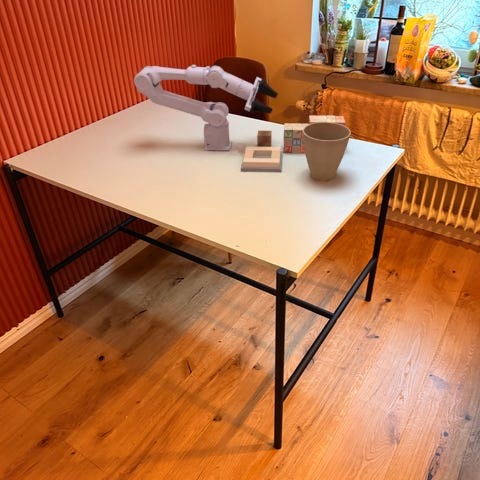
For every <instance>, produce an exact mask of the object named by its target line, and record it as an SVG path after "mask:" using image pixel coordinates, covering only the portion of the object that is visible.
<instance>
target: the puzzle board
mask: <svg viewBox="0 0 480 480" xmlns="http://www.w3.org/2000/svg"><path fill="white" fill-rule="evenodd" d="M243 152H244V153H243V157H242V161H241V167H240V171H241V172H252V173H253V172H256V173H257V172H259V173H260V172H262V173H263V172H265V173H282V169H283V167H282V166H283V155H284V152H283V151H282V150H281V146H271V147H257V146H249V145H248V146H246V147H245V150H244V151H243Z"/></svg>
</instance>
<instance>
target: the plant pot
mask: <svg viewBox="0 0 480 480" xmlns="http://www.w3.org/2000/svg"><path fill="white" fill-rule="evenodd" d="M308 124H309V123H308ZM350 137H351V130H350V128H348V127H347V126H346V125H345V126H343V125H341V124H337V123H331V122H318V123H312V124H309V125H307V126H306V127H304V129H303V139H304V148H305V153H304V155H305V158H306V163H307V166H308V169H309V172H310V176H311V177H312V178H313V179H314V180H316V181H321V182H324V181H325V182H326V181H330V180H332V179H333V178H334V176H335V175H336V173H337V171H338V169H339V167H340V165H341V162H342V161H343V158H344V156H345V153H346V150H347V147H348V144H349V140H350Z"/></svg>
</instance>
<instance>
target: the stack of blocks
mask: <svg viewBox="0 0 480 480" xmlns="http://www.w3.org/2000/svg"><path fill="white" fill-rule="evenodd" d="M318 122H331V123H337V124H341V125H343V126H345V127H346V120H345V116H344V115H309V116H308V123H287V122H286V123H284V124H283V154H305V148H304V139H303V129H304V127H306V126H307V125H309V124H312V123H318Z"/></svg>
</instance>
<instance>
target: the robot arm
mask: <svg viewBox="0 0 480 480" xmlns="http://www.w3.org/2000/svg"><path fill="white" fill-rule="evenodd" d="M163 80H172V81H178V80H179V81H184V80H185V81H186V82H187V83H188V84H190V85H204V86H206V85H209V86H210V88H212V89H218V88H220V89H222V90H224V91H226V92H227V93H230V94H232V95H234V96H236V97H239V98H241V99H243V100H245V101H246V103H245V106H244V110H245V111H247V112H249V113H264V114H269V115H271V113H272V112H273V108H272V107H271V106H269V105H267V104H265V103H263V102H262V101H260V100H259V99H258V98H257V97H256V96H257V95H258V94H259V95H265V96H267V97H270V98H273V99H276V98H277V97H278V96H279V94H278V92H277V91H275V89H273V88H272V87H271V86H270V85H269V84H268V83H267V81H266V80H265V79H264V78H262V77H261V78H260V77H258V76H256V78H255V80H254V82H253V84H252V83H251V82H248V81H246V80H244V79H242V78H239V77H237V76H235V75H233V74H231V73H229V72H227V71H224V69H223V68H222V67H221V66H217V65H213V66H211V67H210V66H209V65H207V66H206V67H204V66H203V67H202V66H197V65H196V64H192V65H191V66H188V67H187V68H186V69H182V68H181V69H180V68H173V67H172V68H171V67H166V66H165V67H163V66H158V65H152V66H150V65H146V66H145V67H143V68H142V70H140V71H139V72H138V73H137V74H136V75H135V76H134V78H133V83H134V85H135V87H136V90H137V92H138V93H140V94H143V95H144V96H145V97H146V98H147V99H148V100H150V101H151V102H152V103H153V104H156V105H158V106H163V107H166V108H170V109H173V110H176V111H178V112H179V111H180V112H182V113H186V114H190V115H193V116H196V117H200V118H201V119H202V121H203V122H205V123H204V126H203V139H204V151H230V150H231V147H232V142H233V141H232V140H230V125H229V124H230V123H229V121H228V118H227V117H228V115H229V107H228V106H227V104H226V103H224V102H220V101H219V102H213V101H207V102H203V101H200V100H197V99H193V98H191V97H187V96H184V95H179V94H178V93H175V92H174V93H173V92H170V91H168V90H165V89H163V86H162V84H161V82H162V81H163ZM256 94H257V95H256Z"/></svg>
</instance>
